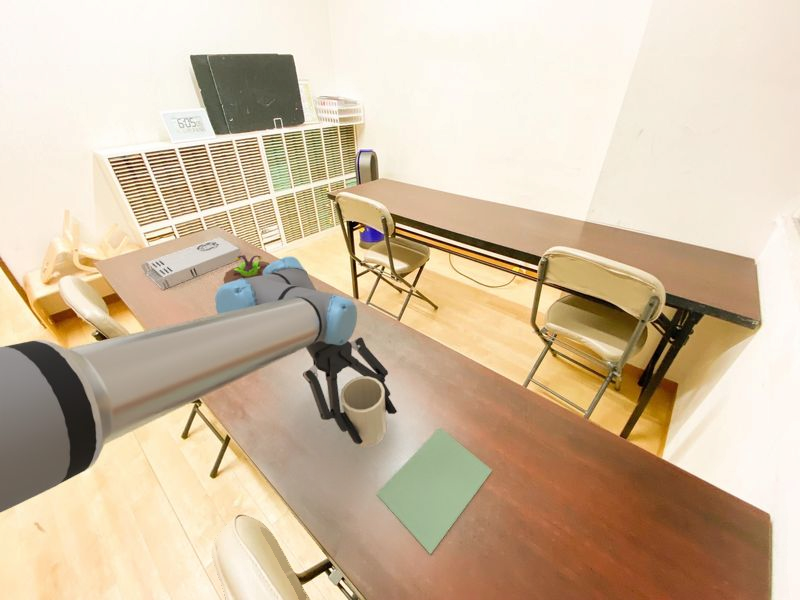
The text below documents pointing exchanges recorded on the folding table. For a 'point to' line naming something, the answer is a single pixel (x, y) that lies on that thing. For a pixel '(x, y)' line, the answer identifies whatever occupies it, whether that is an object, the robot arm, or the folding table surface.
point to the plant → (246, 269)
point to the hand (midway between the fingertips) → (376, 426)
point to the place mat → (434, 488)
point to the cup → (365, 408)
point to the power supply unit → (191, 262)
